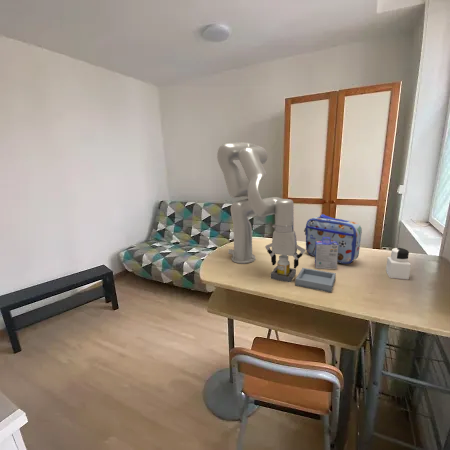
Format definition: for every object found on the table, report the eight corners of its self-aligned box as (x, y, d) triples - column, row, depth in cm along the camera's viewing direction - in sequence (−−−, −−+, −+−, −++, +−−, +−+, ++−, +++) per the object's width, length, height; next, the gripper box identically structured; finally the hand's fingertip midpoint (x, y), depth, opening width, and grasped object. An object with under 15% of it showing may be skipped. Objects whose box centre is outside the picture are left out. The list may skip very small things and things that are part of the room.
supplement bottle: (279, 279, 115) (279, 259, 112) (275, 274, 120) (275, 254, 117) (291, 278, 115) (291, 258, 112) (287, 273, 120) (287, 253, 118)
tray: (295, 285, 109) (295, 278, 108) (302, 273, 119) (302, 267, 118) (331, 292, 102) (331, 285, 101) (335, 279, 112) (335, 273, 111)
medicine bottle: (404, 272, 116) (407, 247, 113) (409, 279, 109) (413, 253, 106) (385, 270, 118) (388, 245, 115) (389, 278, 112) (392, 251, 108)
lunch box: (300, 254, 142) (301, 214, 136) (310, 249, 148) (312, 211, 143) (352, 268, 122) (356, 223, 116) (361, 261, 129) (365, 218, 123)
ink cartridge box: (335, 264, 127) (337, 236, 123) (337, 269, 122) (339, 240, 118) (313, 264, 129) (315, 236, 125) (315, 268, 124) (316, 239, 120)
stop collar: (270, 278, 116) (270, 273, 115) (276, 270, 123) (276, 265, 123) (290, 282, 111) (290, 277, 111) (295, 274, 119) (296, 269, 118)
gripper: (262, 229, 112) (263, 266, 116) (302, 232, 104) (302, 272, 108) (268, 224, 119) (269, 260, 123) (307, 227, 110) (306, 265, 114)
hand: (284, 265), depth 115 cm, fingers open, 9 cm apart
